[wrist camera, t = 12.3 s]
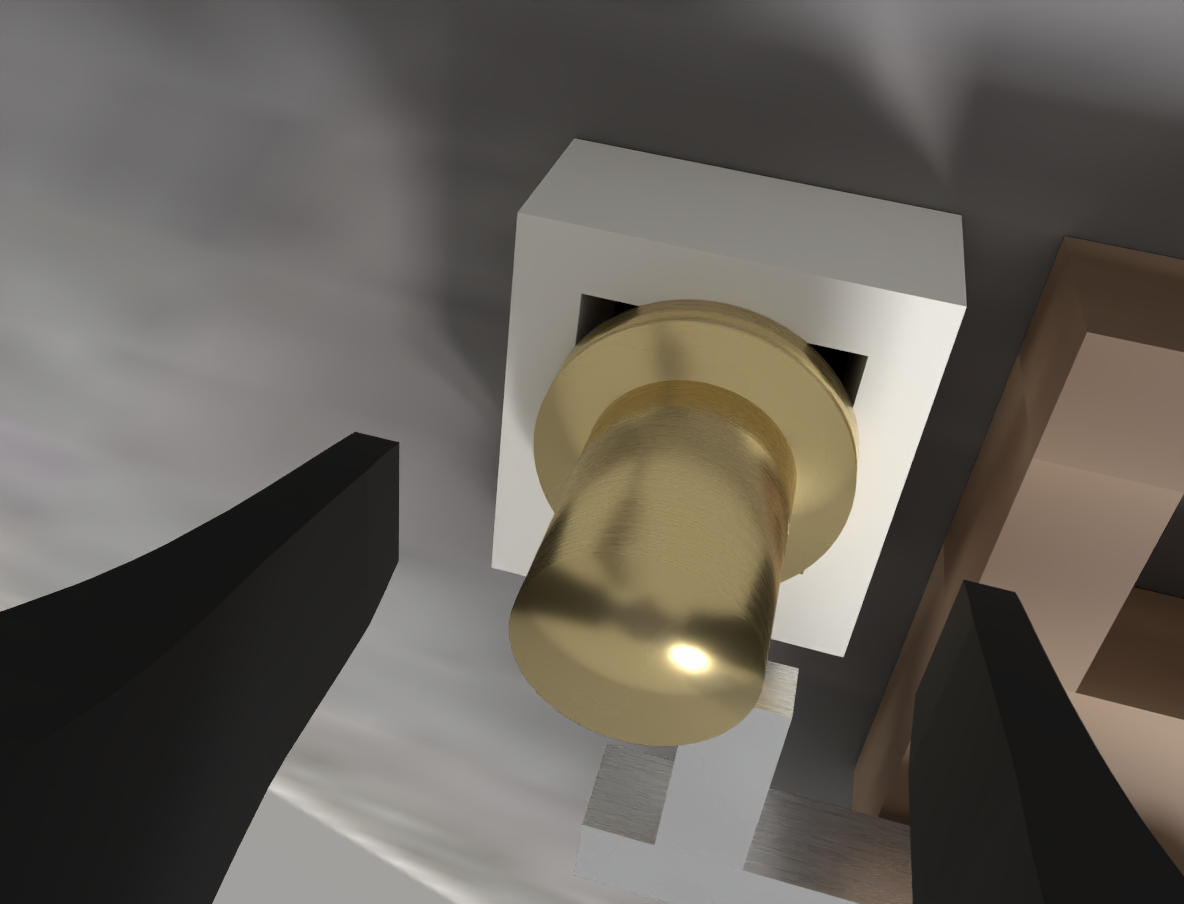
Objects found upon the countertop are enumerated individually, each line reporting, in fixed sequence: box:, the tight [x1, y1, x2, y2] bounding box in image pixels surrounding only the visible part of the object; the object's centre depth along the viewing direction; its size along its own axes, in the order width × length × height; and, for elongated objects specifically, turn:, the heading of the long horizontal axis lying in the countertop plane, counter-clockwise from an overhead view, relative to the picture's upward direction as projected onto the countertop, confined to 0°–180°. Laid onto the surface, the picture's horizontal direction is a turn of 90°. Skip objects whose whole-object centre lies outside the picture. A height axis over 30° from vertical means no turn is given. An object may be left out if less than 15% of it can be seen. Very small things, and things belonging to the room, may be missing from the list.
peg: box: [509, 299, 859, 746], centre depth 16 cm, size 5×5×7 cm
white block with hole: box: [492, 138, 967, 657], centre depth 18 cm, size 6×6×3 cm
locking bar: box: [574, 660, 913, 904], centre depth 18 cm, size 5×11×2 cm, turn 84°
